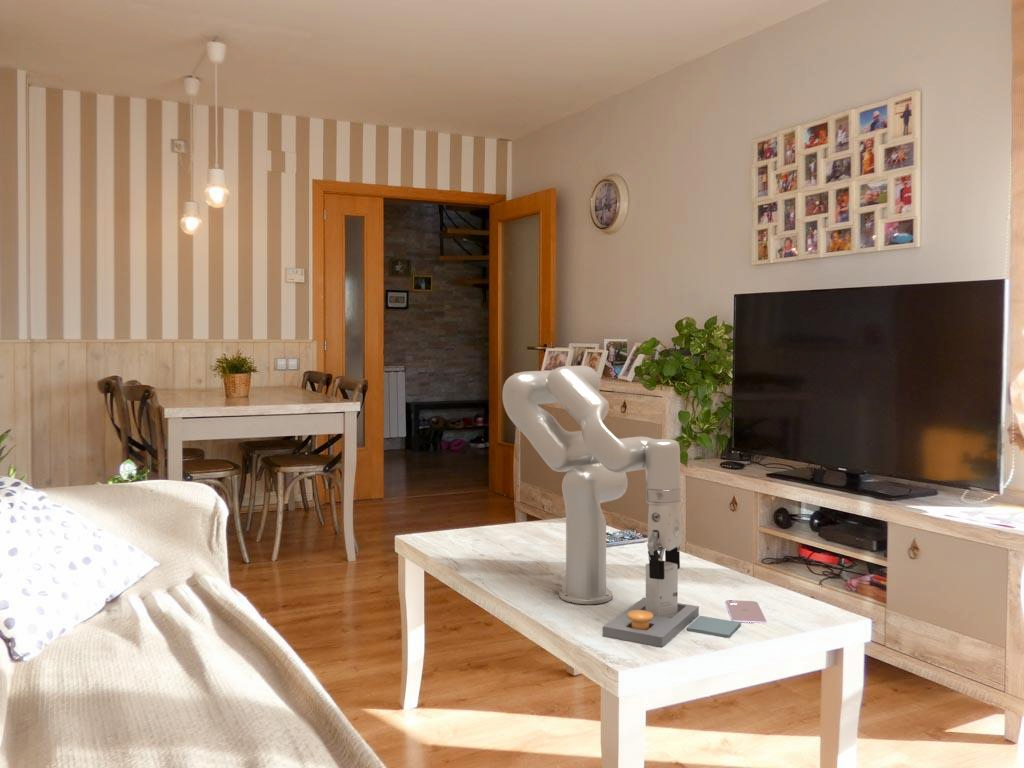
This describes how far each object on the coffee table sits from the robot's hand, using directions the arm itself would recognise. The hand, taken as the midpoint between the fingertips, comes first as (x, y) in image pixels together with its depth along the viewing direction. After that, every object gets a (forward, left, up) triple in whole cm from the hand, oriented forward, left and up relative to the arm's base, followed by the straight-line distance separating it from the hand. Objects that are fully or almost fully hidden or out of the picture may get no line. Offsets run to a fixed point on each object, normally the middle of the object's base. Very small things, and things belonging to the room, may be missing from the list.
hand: (665, 573), depth 187 cm
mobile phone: (+14, +14, -11) cm, 22 cm away
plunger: (-1, -12, -10) cm, 16 cm away
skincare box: (-1, 0, -10) cm, 10 cm away
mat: (+11, 0, -10) cm, 15 cm away
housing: (-1, -6, -10) cm, 12 cm away
